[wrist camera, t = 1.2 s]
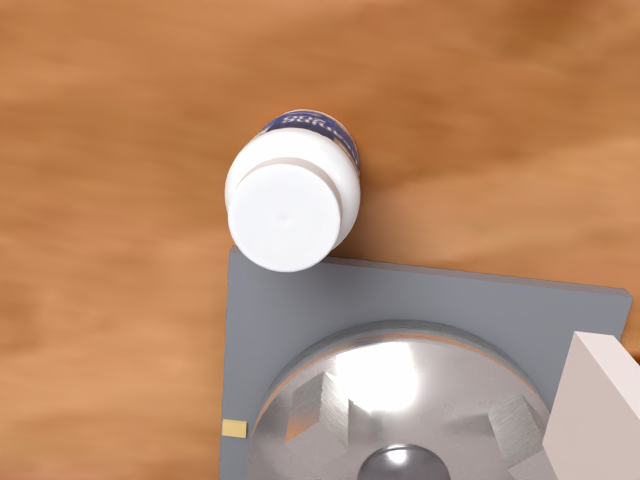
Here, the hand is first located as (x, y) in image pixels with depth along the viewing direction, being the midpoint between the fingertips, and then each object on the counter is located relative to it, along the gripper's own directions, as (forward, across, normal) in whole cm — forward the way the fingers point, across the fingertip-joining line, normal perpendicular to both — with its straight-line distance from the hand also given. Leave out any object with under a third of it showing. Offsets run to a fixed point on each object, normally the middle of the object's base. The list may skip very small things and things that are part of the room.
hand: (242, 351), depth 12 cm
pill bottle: (+18, 0, 0) cm, 19 cm away
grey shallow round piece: (+17, +7, -16) cm, 24 cm away
